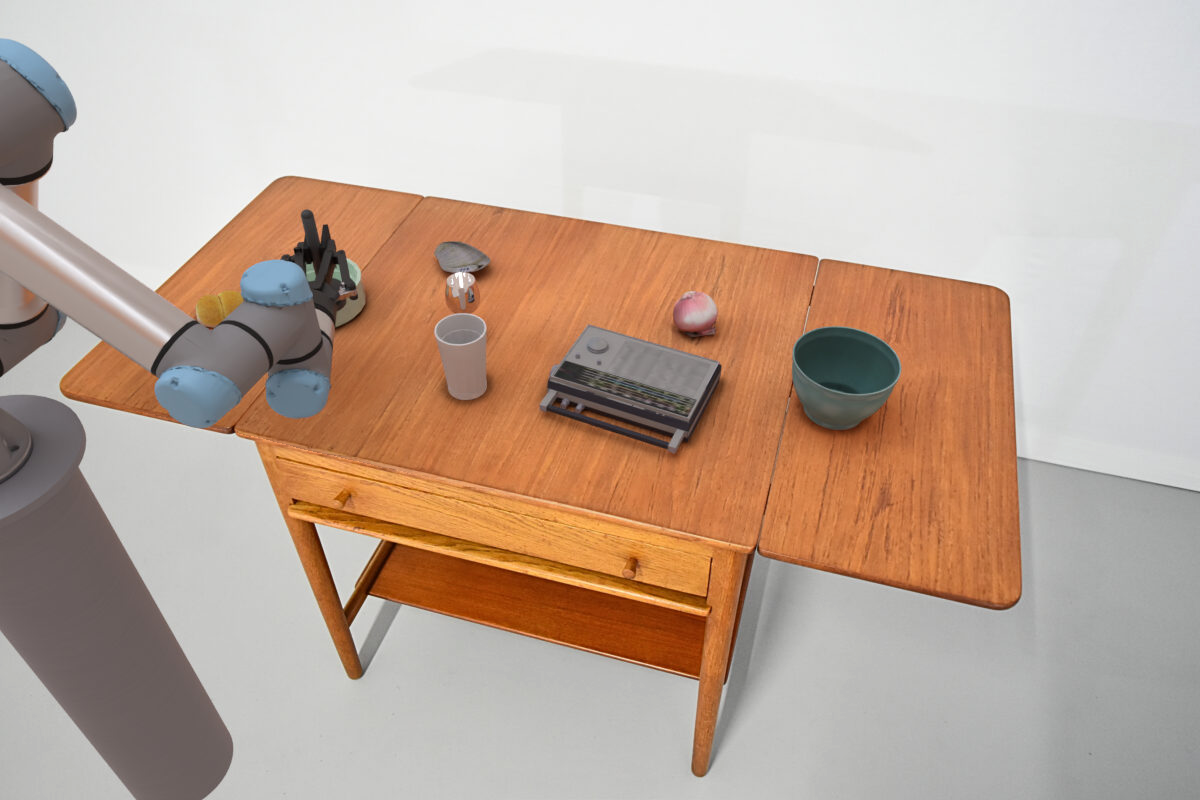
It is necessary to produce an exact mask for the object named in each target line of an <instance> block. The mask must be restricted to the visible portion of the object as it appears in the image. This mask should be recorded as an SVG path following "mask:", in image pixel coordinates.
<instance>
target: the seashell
mask: <svg viewBox="0 0 1200 800" xmlns="http://www.w3.org/2000/svg"><path fill="white" fill-rule="evenodd" d="M433 252H434V253H433V254H434V257H435V258H436V259H437V261H438V263H439V267H440V268H441V270H443V271H444V272H448V273H452V274H455V273H459V272H465V273H469V274H470V273H474V272H477V271H480V270H483V269H484V268H485V267H487V266H489V265H490V264H491V263H492V262H491V261H492V260H491V258H490V257H489V256H488V255H487V254H485V253H484V252H483V251H481V250H480V249H478V248H476V247H475V246H473V245H470V244H469V243H465V242H462V241H456V240H450V241H442V242H441V243H439V244H438V245H437V246H436V248H435V249H434V251H433Z"/></svg>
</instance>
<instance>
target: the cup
mask: <svg viewBox="0 0 1200 800" xmlns="http://www.w3.org/2000/svg"><path fill="white" fill-rule="evenodd" d="M487 328H488V327H487V323H486V322H485V320H484V319H483V318H482V317H480V316H478V315H476V314H473V313H471V314H468V313H458V314H455V313H453V314H449V315H447V316H444V317H443V318H442V319H440V320H439V321H438V322H437V323H436V325H435V327H434V330H433V333H434V337H435V339H436V345H437V348H438V351H439V356H440V359H441V363H442V368H443V371H444V376H445V380H446V385H447V391H448V393H449V395H450V396H452V397H453V398H454V399H456V400H461V401H471V400H474V399H478V398H480V397H481V396H483V395H484V394H485V392H487V389H488V380H487V330H488V329H487Z"/></svg>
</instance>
